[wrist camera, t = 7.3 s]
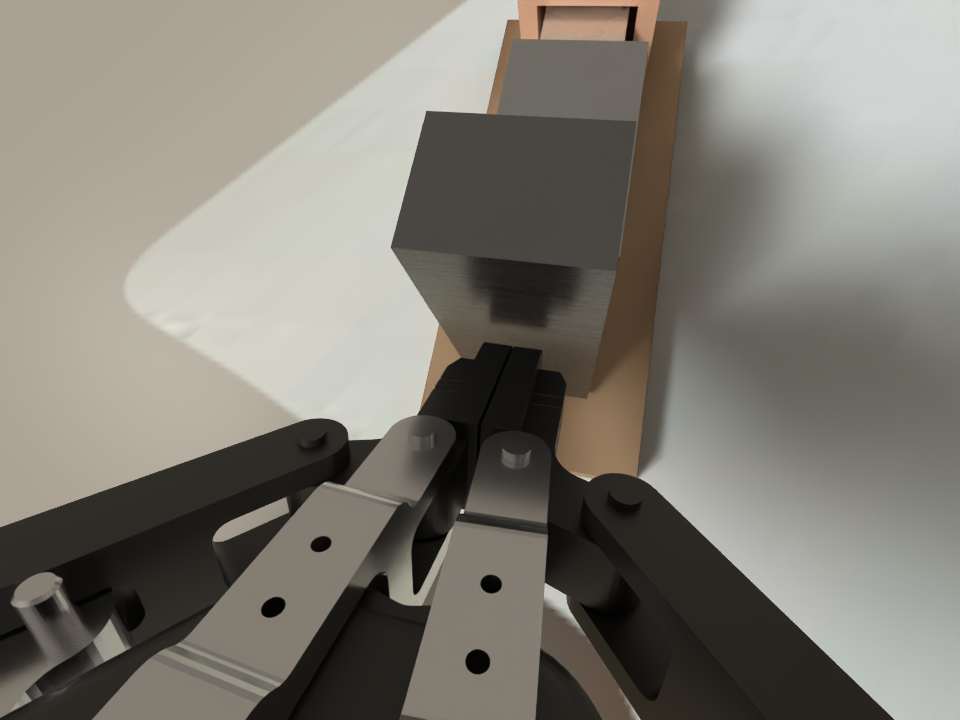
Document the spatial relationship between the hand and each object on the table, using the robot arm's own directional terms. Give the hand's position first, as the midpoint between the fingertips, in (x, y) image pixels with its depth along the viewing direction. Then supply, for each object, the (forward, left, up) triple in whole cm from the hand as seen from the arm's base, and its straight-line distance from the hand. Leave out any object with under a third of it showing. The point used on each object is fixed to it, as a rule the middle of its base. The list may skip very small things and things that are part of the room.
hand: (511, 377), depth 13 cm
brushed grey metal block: (0, -9, -5) cm, 11 cm away
